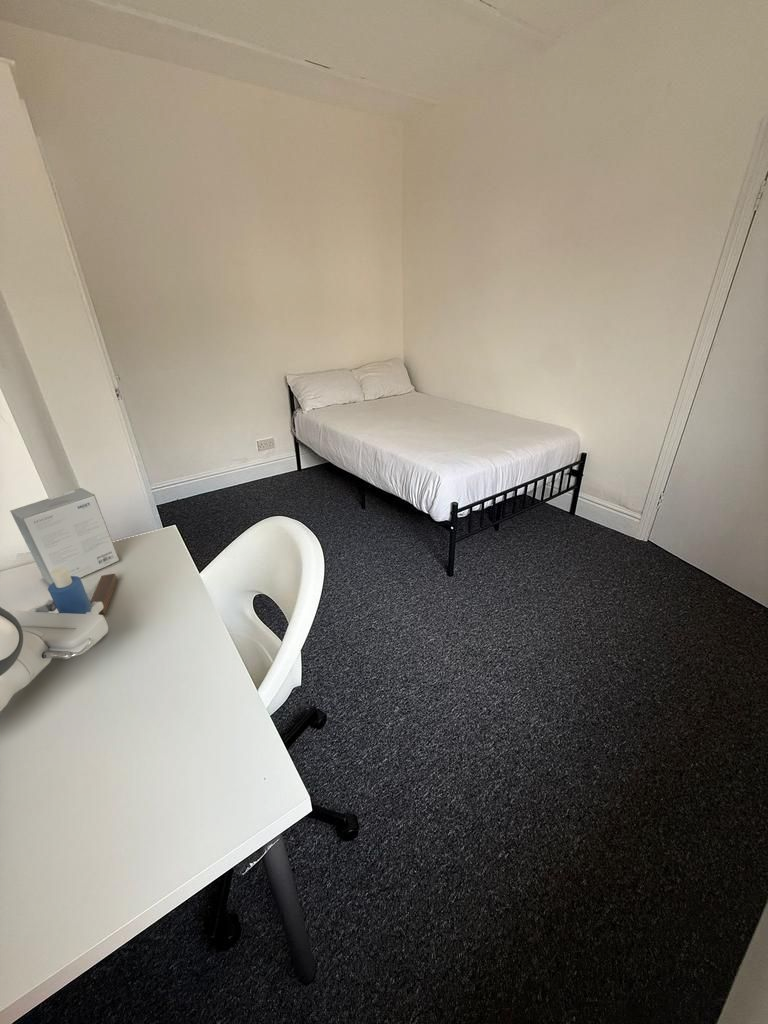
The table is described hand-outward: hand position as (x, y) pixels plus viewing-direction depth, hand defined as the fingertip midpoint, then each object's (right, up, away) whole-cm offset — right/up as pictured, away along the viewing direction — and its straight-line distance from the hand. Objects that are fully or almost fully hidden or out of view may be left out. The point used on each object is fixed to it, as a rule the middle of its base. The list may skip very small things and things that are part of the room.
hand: (77, 603), depth 83 cm
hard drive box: (-17, +3, +25) cm, 31 cm away
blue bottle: (0, -8, +3) cm, 9 cm away
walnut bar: (-5, -2, +15) cm, 16 cm away
